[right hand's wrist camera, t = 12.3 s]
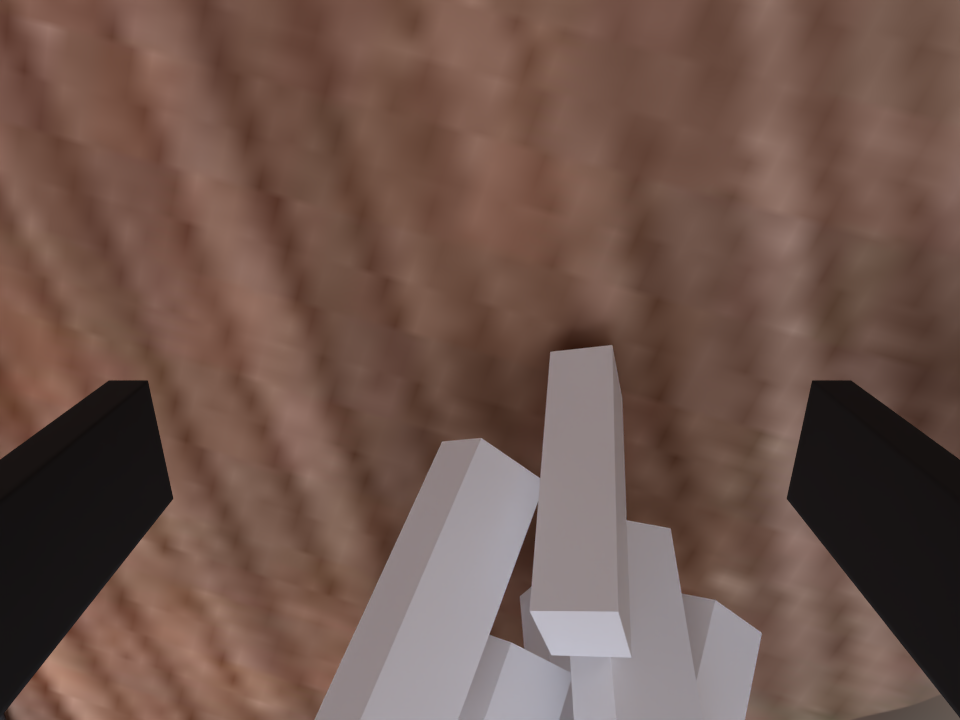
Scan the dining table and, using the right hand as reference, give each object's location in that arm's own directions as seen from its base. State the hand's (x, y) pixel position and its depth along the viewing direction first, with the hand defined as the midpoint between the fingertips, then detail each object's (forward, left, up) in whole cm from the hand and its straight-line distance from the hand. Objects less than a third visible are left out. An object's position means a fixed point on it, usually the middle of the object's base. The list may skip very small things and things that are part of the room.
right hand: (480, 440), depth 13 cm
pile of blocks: (-22, -17, -30) cm, 41 cm away
